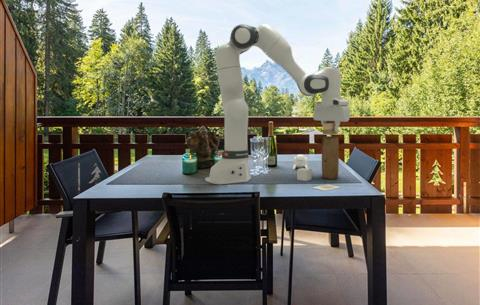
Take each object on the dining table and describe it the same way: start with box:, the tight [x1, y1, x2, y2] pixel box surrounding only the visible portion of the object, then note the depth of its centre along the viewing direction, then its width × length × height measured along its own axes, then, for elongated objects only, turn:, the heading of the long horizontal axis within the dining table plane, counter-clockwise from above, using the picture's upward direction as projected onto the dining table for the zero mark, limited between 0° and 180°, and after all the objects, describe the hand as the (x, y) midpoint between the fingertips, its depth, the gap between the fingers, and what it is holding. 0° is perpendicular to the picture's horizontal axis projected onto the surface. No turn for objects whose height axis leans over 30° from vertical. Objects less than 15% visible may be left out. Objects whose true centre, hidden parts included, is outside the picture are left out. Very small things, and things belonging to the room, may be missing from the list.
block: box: [321, 135, 340, 180], centre depth 183 cm, size 11×8×20 cm
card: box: [312, 183, 342, 192], centre depth 162 cm, size 10×7×1 cm
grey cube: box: [296, 167, 313, 182], centre depth 180 cm, size 5×5×5 cm
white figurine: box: [292, 154, 309, 170], centre depth 207 cm, size 9×8×15 cm
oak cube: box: [322, 122, 339, 136], centre depth 181 cm, size 5×5×5 cm
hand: (330, 130), depth 181 cm, fingers closed on oak cube, 5 cm apart
